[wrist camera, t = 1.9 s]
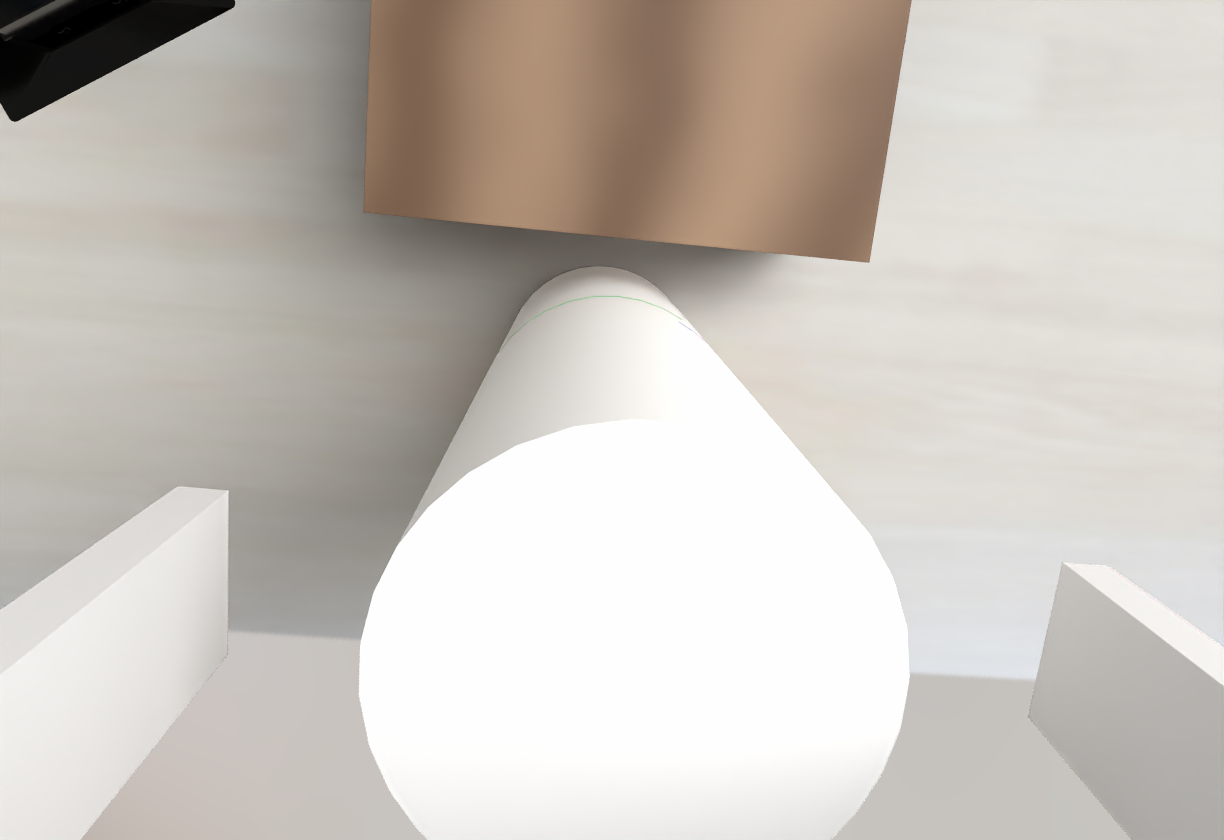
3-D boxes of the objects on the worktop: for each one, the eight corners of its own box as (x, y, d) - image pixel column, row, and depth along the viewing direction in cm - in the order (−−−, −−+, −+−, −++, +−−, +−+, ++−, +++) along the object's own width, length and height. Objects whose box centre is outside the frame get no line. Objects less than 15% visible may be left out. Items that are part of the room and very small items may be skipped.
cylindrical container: (600, 481, 38) (639, 1007, 13) (469, 360, 36) (242, 698, 12) (727, 355, 36) (1020, 675, 12) (596, 226, 35) (632, 295, 11)
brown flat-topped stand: (411, 208, 35) (363, 212, 27) (428, -148, 32) (380, -258, 24) (806, 247, 36) (869, 262, 28) (855, -96, 33) (941, -186, 25)
